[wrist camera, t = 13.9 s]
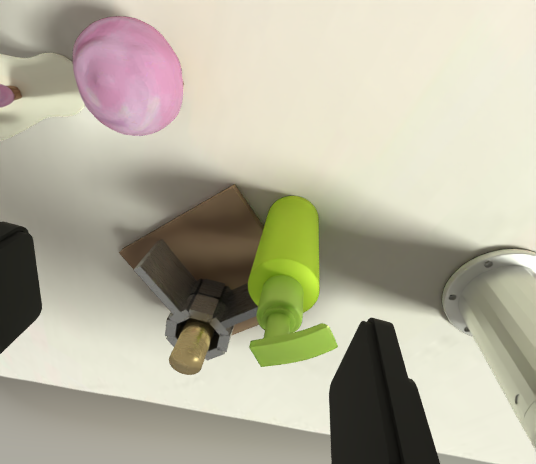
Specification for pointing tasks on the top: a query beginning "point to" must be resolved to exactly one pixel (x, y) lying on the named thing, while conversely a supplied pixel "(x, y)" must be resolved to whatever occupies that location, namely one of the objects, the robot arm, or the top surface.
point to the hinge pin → (191, 347)
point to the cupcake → (128, 75)
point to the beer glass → (36, 91)
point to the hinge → (194, 298)
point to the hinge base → (210, 242)
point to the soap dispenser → (288, 285)
